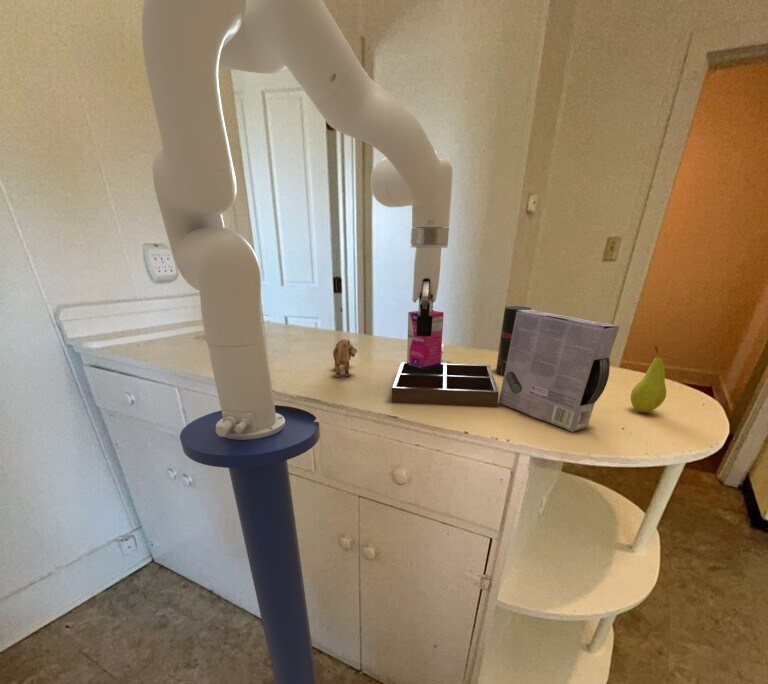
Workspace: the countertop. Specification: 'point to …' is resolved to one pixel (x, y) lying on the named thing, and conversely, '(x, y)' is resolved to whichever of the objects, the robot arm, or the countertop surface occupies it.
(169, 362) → the countertop surface
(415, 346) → the supplement box
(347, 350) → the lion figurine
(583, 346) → the cake pan box
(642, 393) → the fruit
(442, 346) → the stacked layers on plate
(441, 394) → the grid
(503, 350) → the deodorant
